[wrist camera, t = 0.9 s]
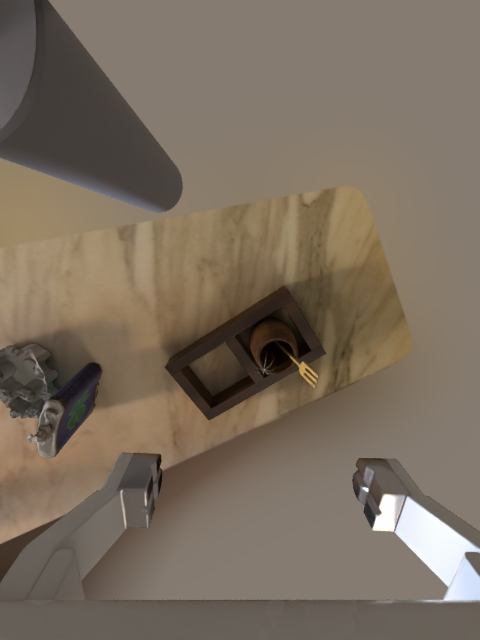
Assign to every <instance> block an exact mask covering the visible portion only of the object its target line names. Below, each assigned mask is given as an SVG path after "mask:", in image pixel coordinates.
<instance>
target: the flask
mask: <svg viewBox="0 0 480 640" xmlns="http://www.w3.org/2000/svg"><path fill="white" fill-rule="evenodd" d="M101 373H102V369H101V367H100V365H99V364H96V363H89V364H88V365H86V366H85V367H84V368H83V370H81V371H80V372H79V373H78V374H77V375H75V376H74V378H72V379H71V380H70V381H69V382H68V383H67V384H66V385H65V386H63V387H62V388H61V389H60V390H59V391H57V392H56V393H55V394H54V395H53V396H51V397H50V398H49V399H48V400H47V401H46V402H45V404H44V407H43V409H42V412H41V414H40V417H39V421H38V424H37V425H38V427H37V432H36V433H37V434H36V435H35V436H34V437H33V435H32V434H30V435H29V436H28V437H27V438H28V439H29V442H31V439H32V437H33V440H34V442H36V443H37V446H38V452H39V454H40V455H42V456H43V457H46V458H52V457H55V456H56V455H57V454H58V452H59V451H60V450H61V449H62V447H63V446H64V445H65V444H66V443H67V441H68V440H69V439H70V437H71V436H72V435H73V434H74V433H75V431H76V430H77V429H78V428H79V427H80V425H81V424H82V423H83V422H84V421H85V420H86V419H87V418H88V416H89V415H90V414H91V413H92V411H93V409H94V407H95V404H94V403H95V398H96V397H97V394H98V393H97V392H98V390H97V385H99V382H98V381H99V379H100V376H101Z"/></svg>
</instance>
